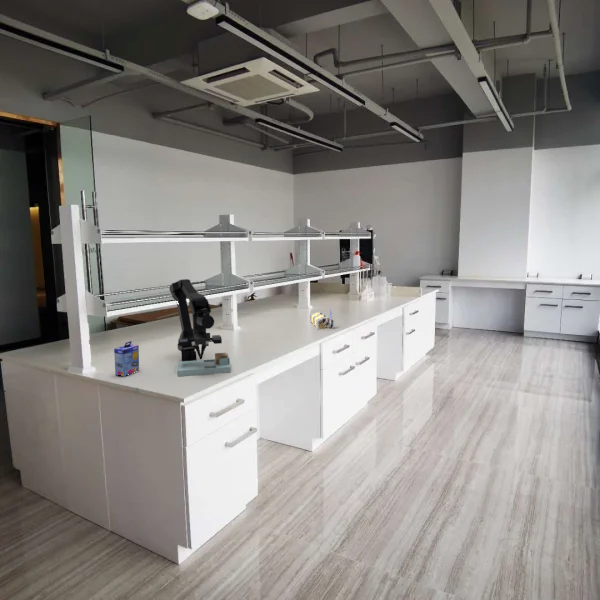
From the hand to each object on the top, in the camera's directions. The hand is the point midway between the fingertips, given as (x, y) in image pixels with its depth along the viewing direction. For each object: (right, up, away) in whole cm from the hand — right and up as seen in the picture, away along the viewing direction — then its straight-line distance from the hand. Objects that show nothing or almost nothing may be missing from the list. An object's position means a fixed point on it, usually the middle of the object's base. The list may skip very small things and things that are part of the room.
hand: (200, 359), depth 203 cm
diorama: (+59, +9, +99) cm, 115 cm away
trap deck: (+1, -5, +1) cm, 5 cm away
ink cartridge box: (-31, -6, -4) cm, 32 cm away
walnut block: (+9, -2, +3) cm, 9 cm away
